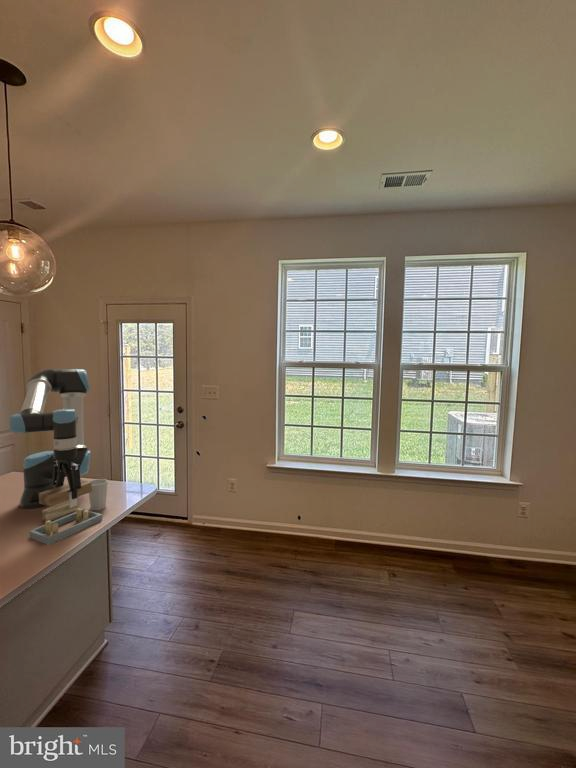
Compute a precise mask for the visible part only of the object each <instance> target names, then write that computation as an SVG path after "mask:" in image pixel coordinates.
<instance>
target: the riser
mask: <svg viewBox="0 0 576 768" xmlns="http://www.w3.org/2000/svg"><path fill="white" fill-rule="evenodd" d="M77 506H78V505H77ZM77 506H74V507H72V508H69V500H68V501H65V502H64V503H61V504H57V505H54V506H51V507H50V506H49V507H47V508H46V509H45V508H44V509H43V510H42V513H41V514H42V520H43V521H45V522H46V521H49V520H50V521H51V522H52V520H53V521H54V520H57V519H59V518H62V517H64V516H67V515H69V514H70V513H74V512H76V509H78V507H77Z"/></svg>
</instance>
